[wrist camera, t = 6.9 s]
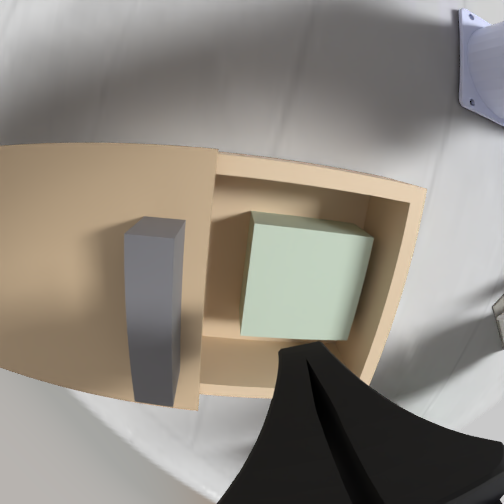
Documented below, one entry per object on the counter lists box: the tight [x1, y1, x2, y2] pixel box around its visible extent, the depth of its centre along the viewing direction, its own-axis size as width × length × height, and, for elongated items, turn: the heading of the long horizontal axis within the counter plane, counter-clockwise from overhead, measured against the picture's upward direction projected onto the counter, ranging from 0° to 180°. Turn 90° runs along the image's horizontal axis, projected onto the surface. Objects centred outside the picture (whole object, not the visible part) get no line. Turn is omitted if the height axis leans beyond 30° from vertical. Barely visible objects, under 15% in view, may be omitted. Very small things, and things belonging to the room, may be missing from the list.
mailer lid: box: [0, 143, 218, 411], centre depth 12 cm, size 16×12×3 cm
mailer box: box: [199, 152, 427, 398], centre depth 17 cm, size 16×12×5 cm
